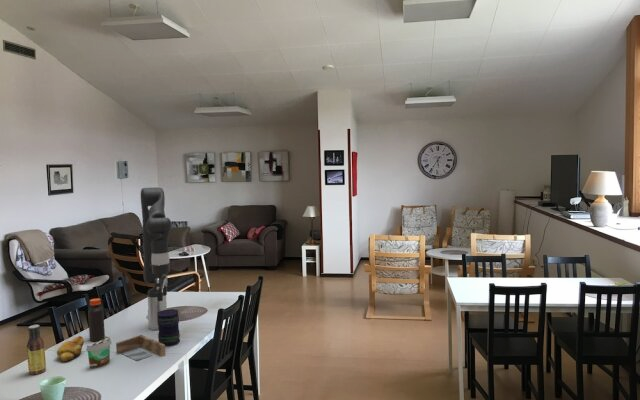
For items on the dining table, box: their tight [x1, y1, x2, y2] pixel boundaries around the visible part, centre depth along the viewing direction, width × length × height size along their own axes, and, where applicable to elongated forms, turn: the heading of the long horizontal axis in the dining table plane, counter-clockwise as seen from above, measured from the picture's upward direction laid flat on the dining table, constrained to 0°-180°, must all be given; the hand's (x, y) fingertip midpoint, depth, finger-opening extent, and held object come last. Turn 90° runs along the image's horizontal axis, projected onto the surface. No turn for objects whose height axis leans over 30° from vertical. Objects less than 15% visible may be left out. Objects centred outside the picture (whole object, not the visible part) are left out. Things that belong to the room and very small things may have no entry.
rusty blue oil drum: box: [157, 308, 181, 348], centre depth 225 cm, size 10×10×15 cm
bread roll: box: [56, 335, 85, 362], centre depth 210 cm, size 13×10×8 cm
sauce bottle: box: [26, 324, 47, 376], centre depth 194 cm, size 7×6×20 cm
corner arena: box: [115, 334, 166, 362], centre depth 211 cm, size 20×12×5 cm, turn 51°
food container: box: [85, 335, 112, 369], centre depth 202 cm, size 12×6×10 cm, turn 168°
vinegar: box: [87, 298, 106, 343], centre depth 231 cm, size 7×7×20 cm
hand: (162, 298), depth 210 cm, fingers open, 8 cm apart
